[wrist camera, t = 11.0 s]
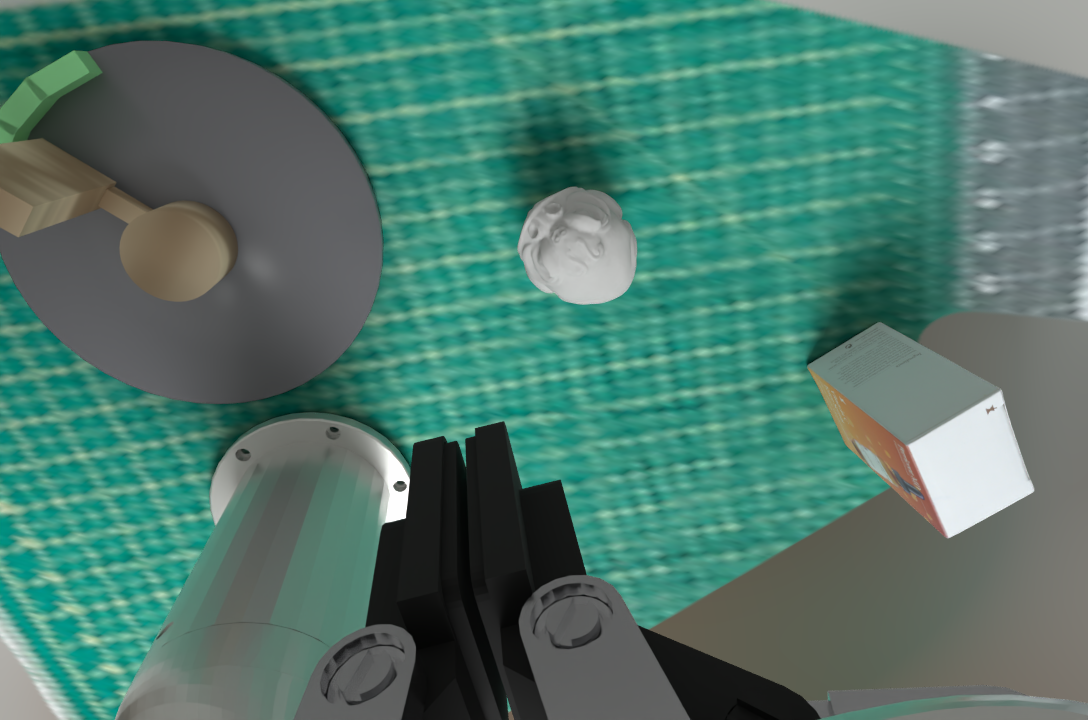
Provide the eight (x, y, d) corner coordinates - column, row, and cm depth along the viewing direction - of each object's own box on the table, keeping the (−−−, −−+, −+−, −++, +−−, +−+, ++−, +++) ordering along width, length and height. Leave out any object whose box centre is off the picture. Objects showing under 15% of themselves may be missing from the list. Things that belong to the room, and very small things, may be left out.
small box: (803, 363, 43) (904, 443, 34) (879, 318, 43) (1003, 386, 33) (845, 448, 46) (947, 543, 37) (916, 407, 46) (1038, 493, 36)
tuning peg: (253, 233, 34) (207, 267, 28) (213, 299, 35) (160, 348, 29) (55, 112, 31) (-50, 119, 24) (17, 189, 32) (-92, 216, 25)
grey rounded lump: (557, 149, 36) (580, 163, 30) (644, 231, 38) (682, 261, 32) (486, 233, 37) (493, 264, 31) (575, 307, 40) (598, 350, 33)
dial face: (344, 425, 41) (338, 445, 38) (-2, 350, 36) (-32, 367, 34) (420, 117, 34) (418, 119, 32) (12, -21, 30) (-23, -29, 28)
